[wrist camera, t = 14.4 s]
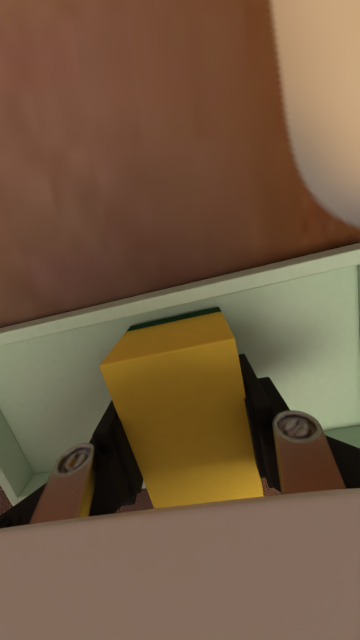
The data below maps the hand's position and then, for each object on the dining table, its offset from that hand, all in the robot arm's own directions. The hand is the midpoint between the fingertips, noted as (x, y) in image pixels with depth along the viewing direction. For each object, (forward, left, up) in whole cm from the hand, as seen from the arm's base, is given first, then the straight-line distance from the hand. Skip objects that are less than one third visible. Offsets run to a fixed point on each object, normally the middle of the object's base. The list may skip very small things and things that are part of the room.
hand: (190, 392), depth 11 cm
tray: (-1, 0, -2) cm, 2 cm away
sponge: (0, 0, -1) cm, 1 cm away
